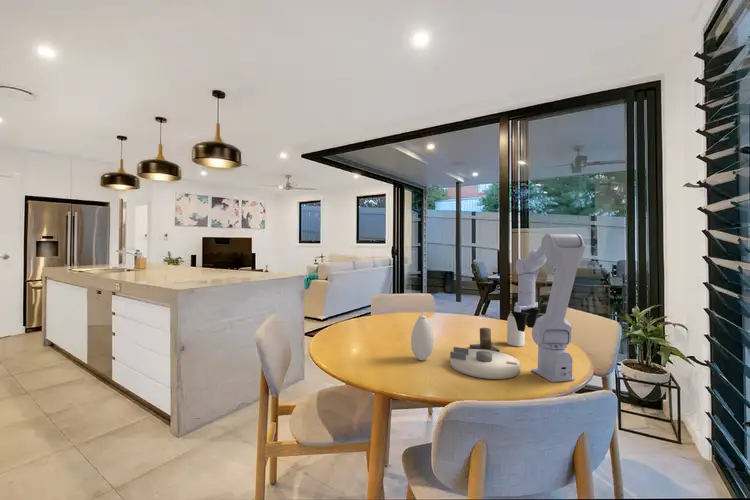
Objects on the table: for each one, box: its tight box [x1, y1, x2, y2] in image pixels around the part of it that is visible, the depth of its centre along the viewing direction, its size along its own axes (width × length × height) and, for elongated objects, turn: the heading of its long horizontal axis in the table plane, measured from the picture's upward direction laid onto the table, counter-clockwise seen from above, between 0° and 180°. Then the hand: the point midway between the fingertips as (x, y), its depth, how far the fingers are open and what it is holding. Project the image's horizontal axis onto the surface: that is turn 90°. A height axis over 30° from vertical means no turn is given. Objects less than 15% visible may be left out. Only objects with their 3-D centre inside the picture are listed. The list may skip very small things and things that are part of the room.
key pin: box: [479, 327, 492, 349], centre depth 129 cm, size 4×4×7 cm
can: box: [506, 312, 526, 348], centre depth 137 cm, size 6×6×12 cm
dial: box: [449, 346, 521, 380], centre depth 113 cm, size 22×22×4 cm
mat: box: [469, 343, 501, 352], centre depth 130 cm, size 8×8×1 cm
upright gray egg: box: [410, 308, 435, 361], centre depth 119 cm, size 8×8×18 cm
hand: (526, 329), depth 124 cm, fingers open, 7 cm apart
